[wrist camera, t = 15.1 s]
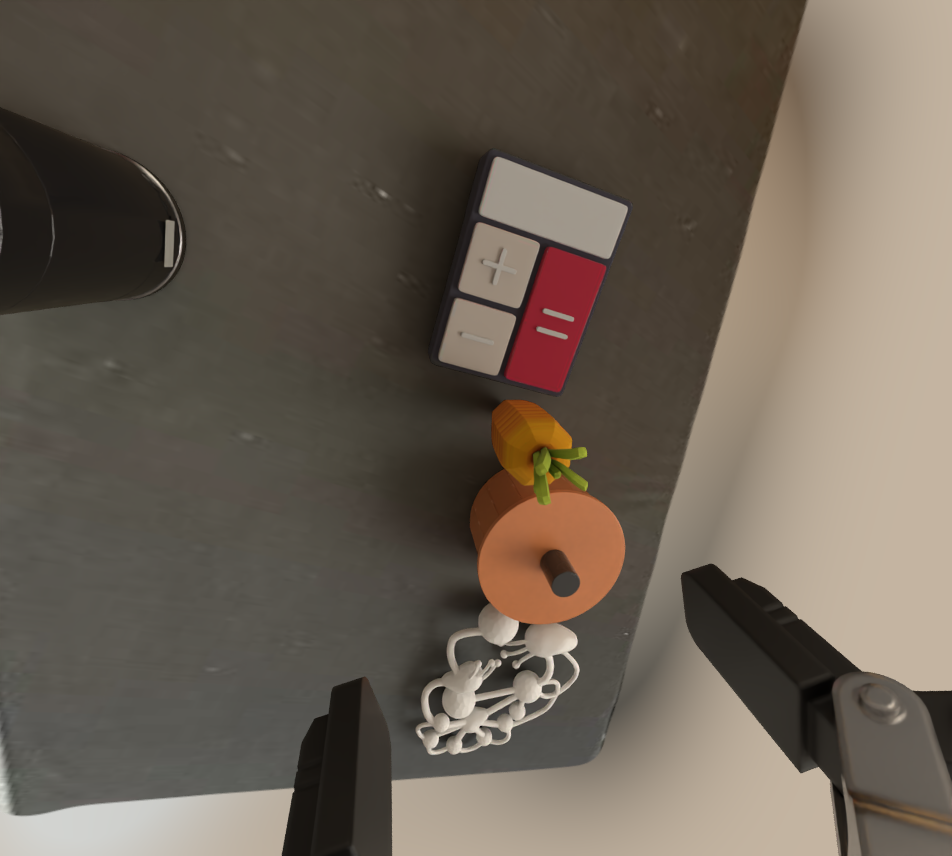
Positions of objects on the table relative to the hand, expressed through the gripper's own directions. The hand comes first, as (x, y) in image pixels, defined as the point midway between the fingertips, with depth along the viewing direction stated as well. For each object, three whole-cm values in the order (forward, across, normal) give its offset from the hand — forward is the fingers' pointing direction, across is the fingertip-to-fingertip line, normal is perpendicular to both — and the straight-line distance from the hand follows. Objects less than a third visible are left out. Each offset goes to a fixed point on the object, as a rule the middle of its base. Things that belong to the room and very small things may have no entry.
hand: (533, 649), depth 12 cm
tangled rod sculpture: (+30, +2, +32) cm, 44 cm away
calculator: (+30, -9, -6) cm, 32 cm away
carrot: (+30, -5, +4) cm, 31 cm away
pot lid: (+23, -5, +15) cm, 28 cm away
